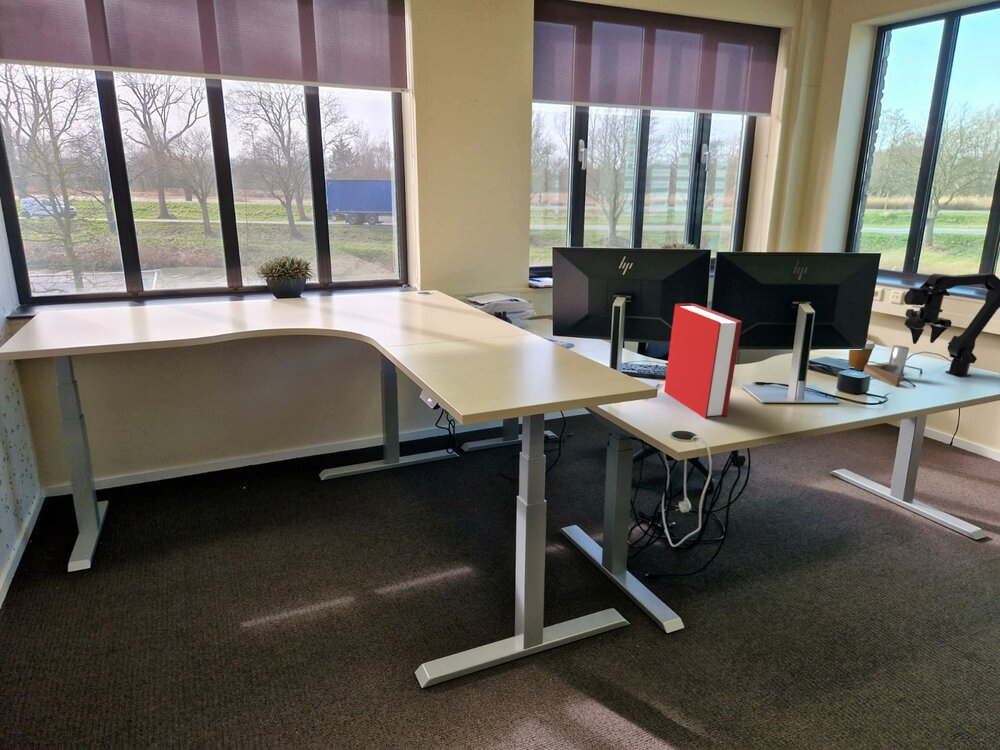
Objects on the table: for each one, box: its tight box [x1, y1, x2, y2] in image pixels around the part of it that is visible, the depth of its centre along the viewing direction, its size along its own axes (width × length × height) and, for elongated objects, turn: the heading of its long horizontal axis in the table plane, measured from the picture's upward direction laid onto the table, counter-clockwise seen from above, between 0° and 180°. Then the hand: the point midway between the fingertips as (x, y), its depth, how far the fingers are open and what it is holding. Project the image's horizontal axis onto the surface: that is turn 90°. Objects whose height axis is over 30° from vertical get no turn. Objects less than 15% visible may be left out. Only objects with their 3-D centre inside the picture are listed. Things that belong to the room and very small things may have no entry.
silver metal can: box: [887, 344, 910, 382], centre depth 250 cm, size 6×6×13 cm
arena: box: [863, 363, 902, 388], centre depth 250 cm, size 15×16×4 cm
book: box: [663, 302, 743, 419], centre depth 211 cm, size 27×8×32 cm, turn 16°
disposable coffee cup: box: [847, 339, 876, 372], centre depth 261 cm, size 10×10×12 cm
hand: (922, 343), depth 257 cm, fingers open, 9 cm apart
